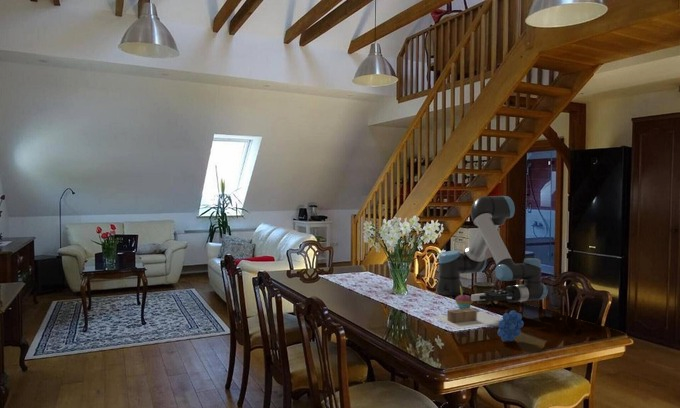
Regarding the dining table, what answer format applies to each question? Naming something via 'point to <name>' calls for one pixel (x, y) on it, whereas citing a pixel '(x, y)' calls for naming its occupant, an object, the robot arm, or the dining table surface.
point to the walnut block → (462, 315)
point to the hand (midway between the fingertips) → (472, 297)
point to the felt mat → (482, 320)
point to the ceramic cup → (482, 290)
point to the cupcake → (463, 301)
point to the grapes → (510, 326)
